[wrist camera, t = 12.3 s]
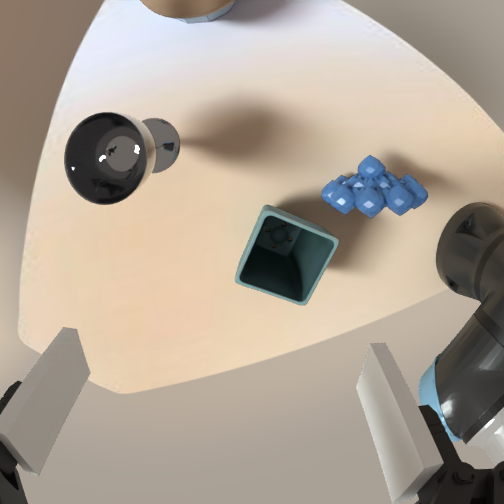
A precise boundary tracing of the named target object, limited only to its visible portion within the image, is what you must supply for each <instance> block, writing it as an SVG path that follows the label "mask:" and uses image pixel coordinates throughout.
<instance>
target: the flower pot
mask: <svg viewBox="0 0 504 504" xmlns="http://www.w3.org/2000/svg"><path fill="white" fill-rule="evenodd" d="M283 222H285V223H286V225H285V226H283V225H282V223H283ZM267 228H268V229H269V232H266V231H265V230H266V229H267ZM290 237H291V238H292V240H291V241H288V238H290ZM272 244H276V246H275V247H272ZM338 244H339V240H338V239H337V238H336V237H335V236H333V235H332V234H331V233H329V232H328V231H327V230H326V229H324V228H323V227H321V226H319V225H316V224H314V223H311V222H309V221H307V220H304V219H302V218H299V217H297V216H295V215H292V214H290V213H287V212H285V211H282V210H280V209H278V208H275V207H273V206H270V205H265V206H264V207H263V208H262V210H261V213H260V215H259V217H258V220H257V222H256V224H255V227H254V229H253V231H252V234H251V236H250V238H249V240H248V243H247V245H246V247H245V250H244V252H243V254H242V256H241V259H240V262H239V265H238V268H237V272H236V276H235V282H236V283H237V284H240V285H242V286H245V287H248V288H251V289H254V290H257V291H261V292H263V293H266V294H269V295H272V296H275V297H278V298H281V299H284V300H287V301H289V302H292V303H295V304H297V305H306V304H307V303H308V301H309V299H310V297H311V295H312V294H313V292H314V290H315V288H316V286H317V284H318V282H319V280H320V279H321V277H322V275H323V273H324V271H325V269H326V267H327V265H328V263H329V261H330V260H331V258H332V256H333V254H334V252H335V251H336V249H337V247H338Z"/></svg>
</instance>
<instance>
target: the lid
mask: <svg viewBox="0 0 504 504" xmlns="http://www.w3.org/2000/svg"><path fill="white" fill-rule="evenodd" d="M140 1H141V2H142V3H143V4H144V5H145V6H146V7H147V8H149V9H150V10H152V11H153V12H155V13H157V14H159V15H162V16H165V17H170V18H178V19H189V18H197V17H202V16H206V15H209V14H212V13H214V12H217V11H219V10H221V9H223V8H225V7H226V6H228V5H229V4H231V3H232V2H234V1H235V0H140Z"/></svg>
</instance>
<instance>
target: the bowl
mask: <svg viewBox="0 0 504 504" xmlns="http://www.w3.org/2000/svg"><path fill="white" fill-rule="evenodd" d="M236 1H237V0H235V1H234V2H232V3H231V4H229V5H228V6H226V7H225V8H223V9H221V10H219V11H217V12H214V13H212V14H209V15H206V16H202V17H197V18H189V19H178V18H175V19H178V20H180V21H183V22H185V23H188V24H189V23H200V22H209V21H212V20H214V19H216V18H218V17H220V16H221V15H223V14H225V13H227V12H229V10H230V9H231V8H232V6H233V5H234V3H235V2H236Z"/></svg>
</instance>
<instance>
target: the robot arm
mask: <svg viewBox="0 0 504 504" xmlns="http://www.w3.org/2000/svg"><path fill="white" fill-rule="evenodd" d="M436 265H437V270H438V273H439V276H440V278H441V279H442V281H443V282H444V283H445V284H446V285H447V286H448V287H449V288H450V289H451V290H452V291H454V292H456V293H458V294H460V295H463V296H467V297H470V298H473V299H476V300H479V301H480V302H481V305H480V306H479V308H478V309H477V310H476V312H475V313H474V314H473V315H472V317H471V318H470V319H469V320H468V322H467V323H466V324H465V326H464V327H463V328H462V330H461V331H460V332H459V333H458V334H457V336H456V337H455V338H454V339H453V340H452V341H451V343H450V344H449V345H448V346H447V347H446V348H445V350H444V351H443V352H442V353H441V354H439V355H438V356H437V357H436V358H435V360H434V362H433V363H432V365H431V366H430V367H429V368H428V370H427V371H426V372H425V373H424V374H423V376H422V377H421V380H420V383H419V397H420V402H421V405H422V406H417V403H416V402H415V399H414V397H413V395H412V393H411V391H410V389H409V387H408V385H407V383H406V381H405V379H404V377H403V375H402V374H401V371H400V369H399V367H398V366H397V364H396V362H395V360H394V358H393V356H392V354H391V352H390V350H389V348H388V346H387V345H386V343H371V344H370V345H369V348H368V352H367V355H366V358H365V362H364V365H363V368H362V371H361V374H360V377H359V381H358V384H357V386H356V388H357V391H358V394H359V397H360V400H361V403H362V406H363V409H364V412H365V415H366V418H367V421H368V424H369V427H370V431H371V434H372V437H373V440H374V443H375V447H376V450H377V453H378V456H379V460H380V463H381V466H382V470H383V473H384V476H385V480H386V483H387V486H388V490H389V494H390V497H391V501H392V504H396V503H400V502H404V501H407V500H411V499H412V498H413V497H414V496H415V495H416V494H418V497H419V500H418V501H417V502H416V503H415V504H504V216H503V215H502V214H501V213H500V212H499V211H498V210H497V209H495V208H493V207H491V206H489V205H487V204H484V203H472V204H469V205H467V206H465V207H463V208H462V209H460V210H459V211H458V212H457V213H455V214H454V216H453V217H452V218H451V219H450V220H449V222H448V223H447V225H446V226H445V228H444V230H443V232H442V234H441V237H440V240H439V243H438V247H437V253H436ZM89 375H90V370H89V367H88V364H87V361H86V358H85V355H84V352H83V349H82V345H81V342H80V339H79V335H78V332H77V329H73V328H66V327H63V328H62V330H61V331H60V332H59V333H58V335H57V336H56V337H55V339H54V340H53V341H52V343H51V344H50V345H49V346H48V348H47V349H46V350H45V352H44V353H43V354H42V356H41V357H40V359H39V360H38V361H37V363H36V364H35V365H34V367H33V368H32V369H31V371H30V372H29V374H28V375H27V376H26V378H25V379H24V381H23V382H20V381H17V382H15V383H14V384H13V385H11V386H10V387H9V388H8V390H7V391H6V392H5V394H4V397H2V398H1V400H0V504H28V503H27V500H26V497H25V493H24V490H23V487H22V484H21V481H20V477H19V473H18V471H17V469H16V468H15V467H16V465H17V463H18V464H19V465H20V466H21V467H22V468H23V469H24V470H25V471H27V472H29V473H32V474H34V475H36V476H39V475H40V473H41V470H42V468H43V466H44V464H45V461H46V459H47V457H48V455H49V453H50V451H51V449H52V447H53V445H54V443H55V441H56V438H57V436H58V434H59V432H60V430H61V428H62V426H63V424H64V422H65V420H66V418H67V416H68V414H69V413H70V411H71V408H72V407H73V405H74V403H75V401H76V399H77V397H78V395H79V393H80V392H81V390H82V388H83V386H84V384H85V382H86V380H87V379H88V377H89ZM461 439H462V440H463V441H464V443H465V444H466V445H467V446H468V447H481V448H483V449H484V450H485V452H486V453H487V454H488V456H489V457H490V459H491V460H492V461H493V463H494V465H495V468H493V469H480V470H479V469H474V468H473V467H472V466H471V465H470V464H468V463H464V462H462V461H461V460H460V458H459V456H458V454H457V452H456V450H455V448H454V446H453V444H452V442H455V441H459V440H461Z"/></svg>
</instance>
